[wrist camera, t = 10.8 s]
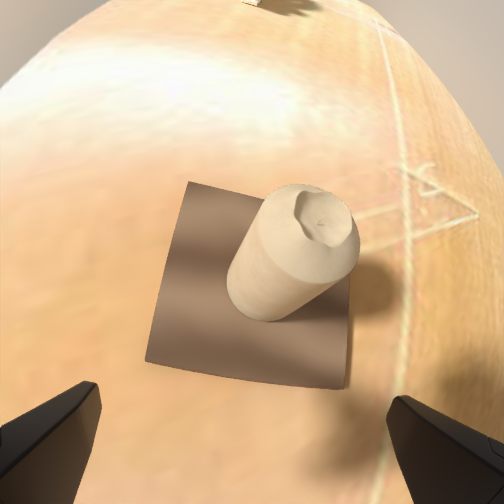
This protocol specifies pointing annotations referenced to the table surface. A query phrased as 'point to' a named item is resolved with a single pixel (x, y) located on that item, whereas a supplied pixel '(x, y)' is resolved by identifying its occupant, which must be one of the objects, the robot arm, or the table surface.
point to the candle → (292, 252)
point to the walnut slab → (228, 316)
